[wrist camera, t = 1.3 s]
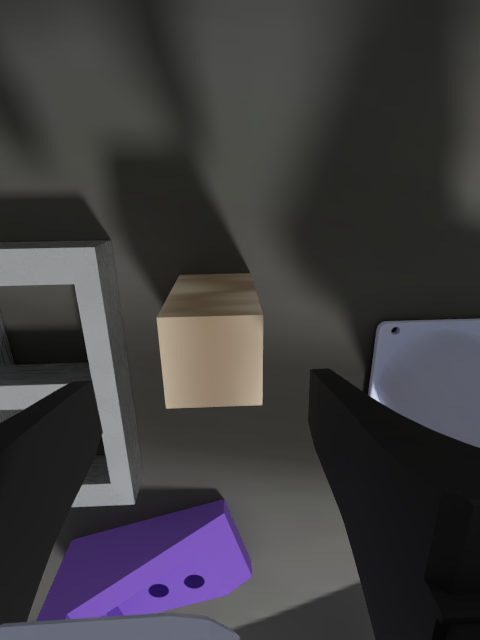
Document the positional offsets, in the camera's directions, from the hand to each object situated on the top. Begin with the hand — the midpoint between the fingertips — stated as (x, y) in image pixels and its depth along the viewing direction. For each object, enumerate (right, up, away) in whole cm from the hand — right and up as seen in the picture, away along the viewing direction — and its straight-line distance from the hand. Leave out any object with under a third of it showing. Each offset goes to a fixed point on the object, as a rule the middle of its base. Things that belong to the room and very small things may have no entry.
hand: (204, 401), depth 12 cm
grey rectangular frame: (-10, -1, +10) cm, 14 cm away
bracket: (-5, -15, +16) cm, 22 cm away
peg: (0, +3, +9) cm, 10 cm away
